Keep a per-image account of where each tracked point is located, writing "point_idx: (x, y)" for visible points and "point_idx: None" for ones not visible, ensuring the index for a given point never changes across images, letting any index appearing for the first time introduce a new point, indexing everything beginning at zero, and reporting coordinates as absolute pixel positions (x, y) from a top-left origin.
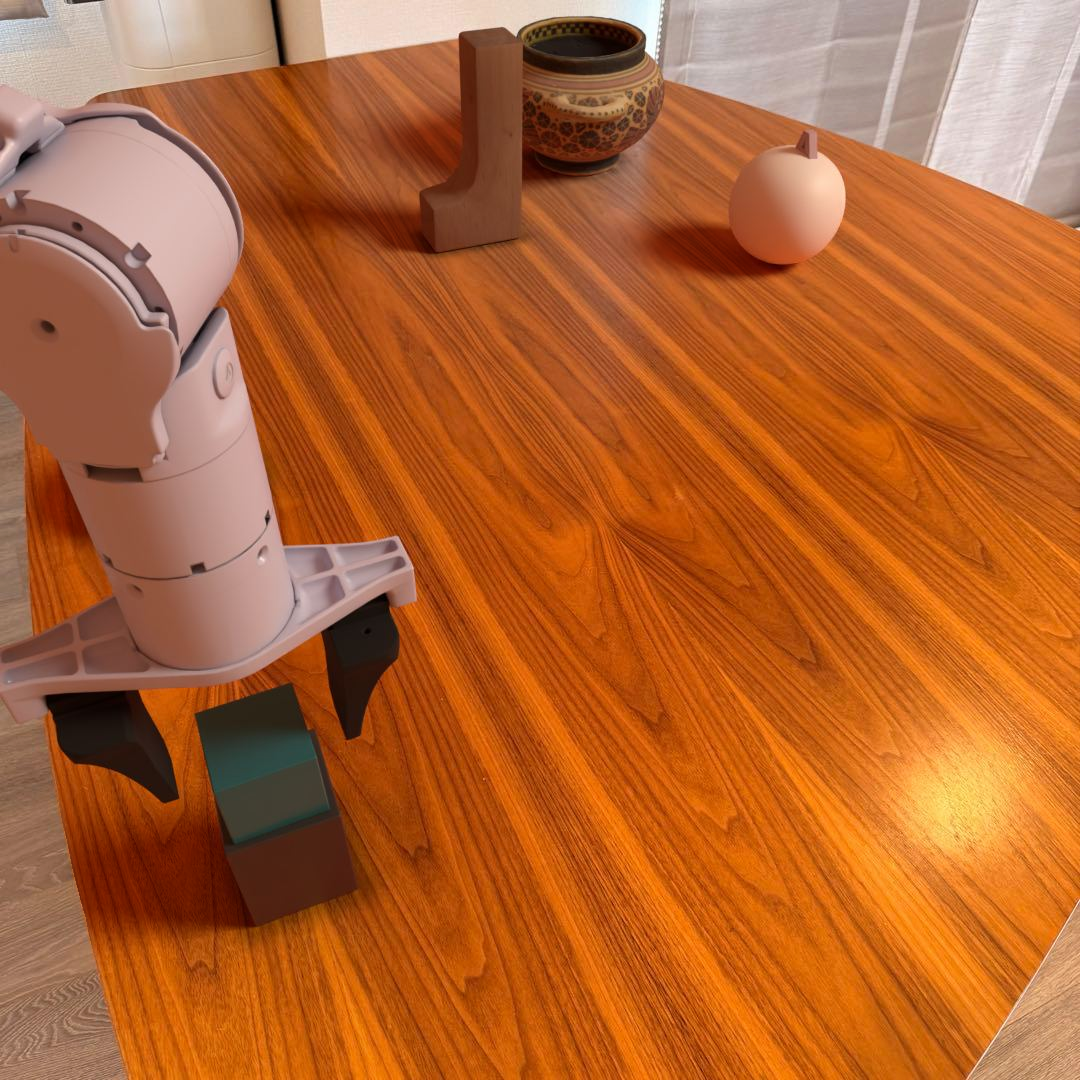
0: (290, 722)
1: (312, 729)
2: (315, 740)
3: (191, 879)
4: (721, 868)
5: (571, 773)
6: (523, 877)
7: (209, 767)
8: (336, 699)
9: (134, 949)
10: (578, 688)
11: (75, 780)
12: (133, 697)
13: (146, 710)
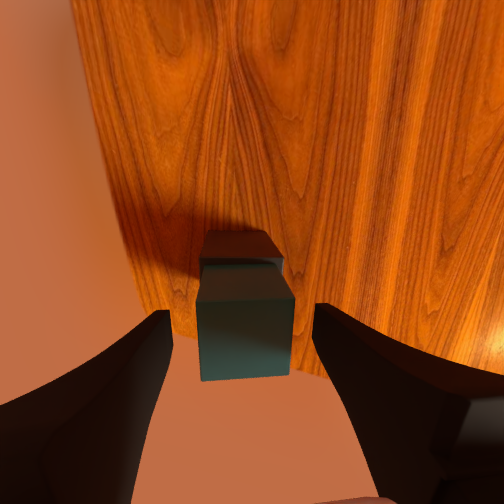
0: (280, 340)
1: (282, 258)
2: (281, 269)
3: (179, 245)
4: (413, 328)
5: (388, 262)
6: (336, 304)
7: (201, 360)
8: (328, 341)
9: (146, 272)
10: (427, 211)
11: (105, 141)
12: (113, 456)
13: (141, 345)
